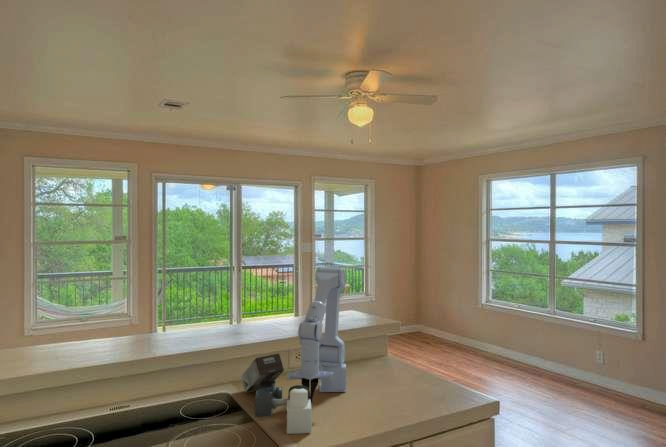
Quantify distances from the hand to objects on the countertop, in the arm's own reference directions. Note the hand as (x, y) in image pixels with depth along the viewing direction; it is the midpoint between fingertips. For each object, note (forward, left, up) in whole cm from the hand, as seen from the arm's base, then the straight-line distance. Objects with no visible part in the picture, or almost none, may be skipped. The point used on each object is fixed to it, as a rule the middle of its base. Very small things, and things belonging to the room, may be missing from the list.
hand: (309, 401), depth 144 cm
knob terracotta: (+9, 0, -2) cm, 9 cm away
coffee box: (+21, -20, -1) cm, 28 cm away
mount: (+14, -4, -3) cm, 15 cm away
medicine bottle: (+3, +11, -3) cm, 12 cm away
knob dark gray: (+14, -7, -2) cm, 16 cm away
